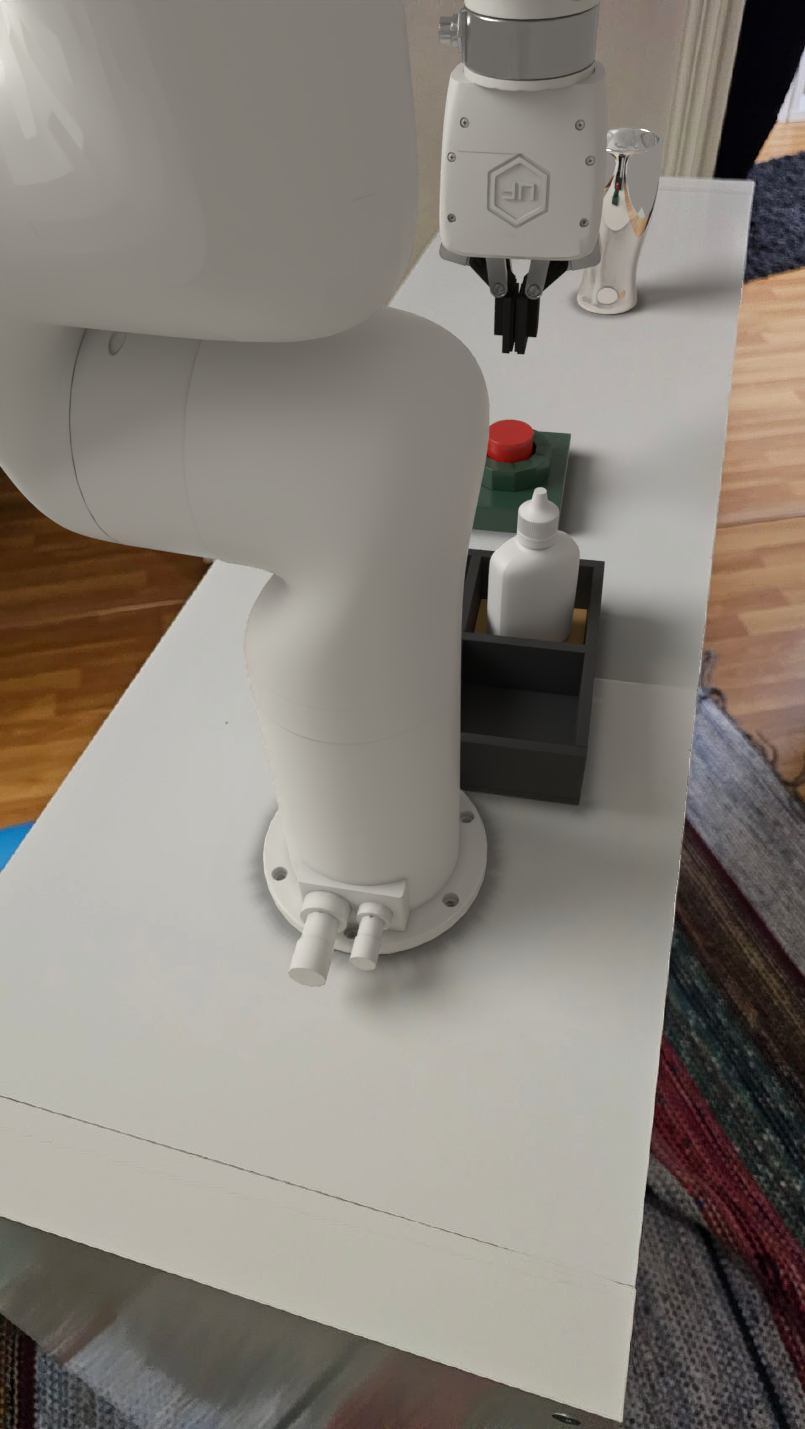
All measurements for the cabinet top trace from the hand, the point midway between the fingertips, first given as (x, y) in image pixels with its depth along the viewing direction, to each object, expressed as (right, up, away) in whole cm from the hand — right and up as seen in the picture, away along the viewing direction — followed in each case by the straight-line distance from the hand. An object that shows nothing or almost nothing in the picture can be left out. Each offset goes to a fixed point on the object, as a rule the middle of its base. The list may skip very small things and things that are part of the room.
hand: (515, 344), depth 69 cm
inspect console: (0, -8, +9) cm, 12 cm away
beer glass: (+13, +16, +30) cm, 36 cm away
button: (0, -6, +6) cm, 9 cm away
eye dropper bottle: (0, -22, -4) cm, 22 cm away
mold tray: (-4, -25, -5) cm, 26 cm away
